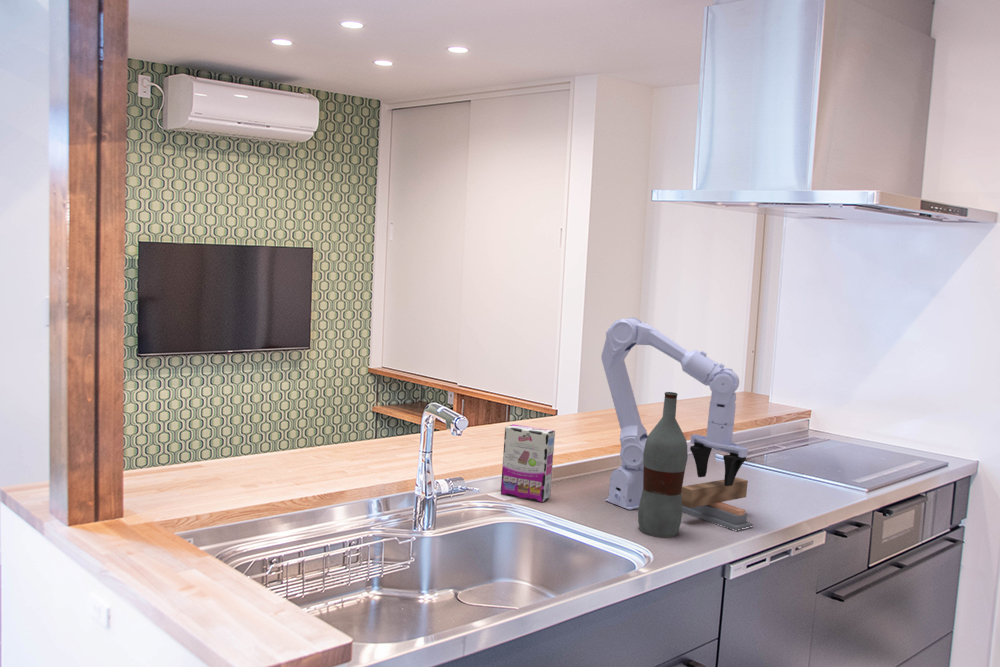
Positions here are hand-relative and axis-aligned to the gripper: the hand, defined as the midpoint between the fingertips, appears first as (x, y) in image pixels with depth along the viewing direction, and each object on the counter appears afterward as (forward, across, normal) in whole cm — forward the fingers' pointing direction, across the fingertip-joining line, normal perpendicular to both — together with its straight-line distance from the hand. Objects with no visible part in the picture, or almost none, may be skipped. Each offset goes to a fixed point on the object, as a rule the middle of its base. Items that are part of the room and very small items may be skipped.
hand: (714, 481), depth 188 cm
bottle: (+9, -1, +19) cm, 21 cm away
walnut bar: (+5, 0, 0) cm, 5 cm away
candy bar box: (+9, +31, +30) cm, 44 cm away
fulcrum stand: (+9, 0, 0) cm, 9 cm away
